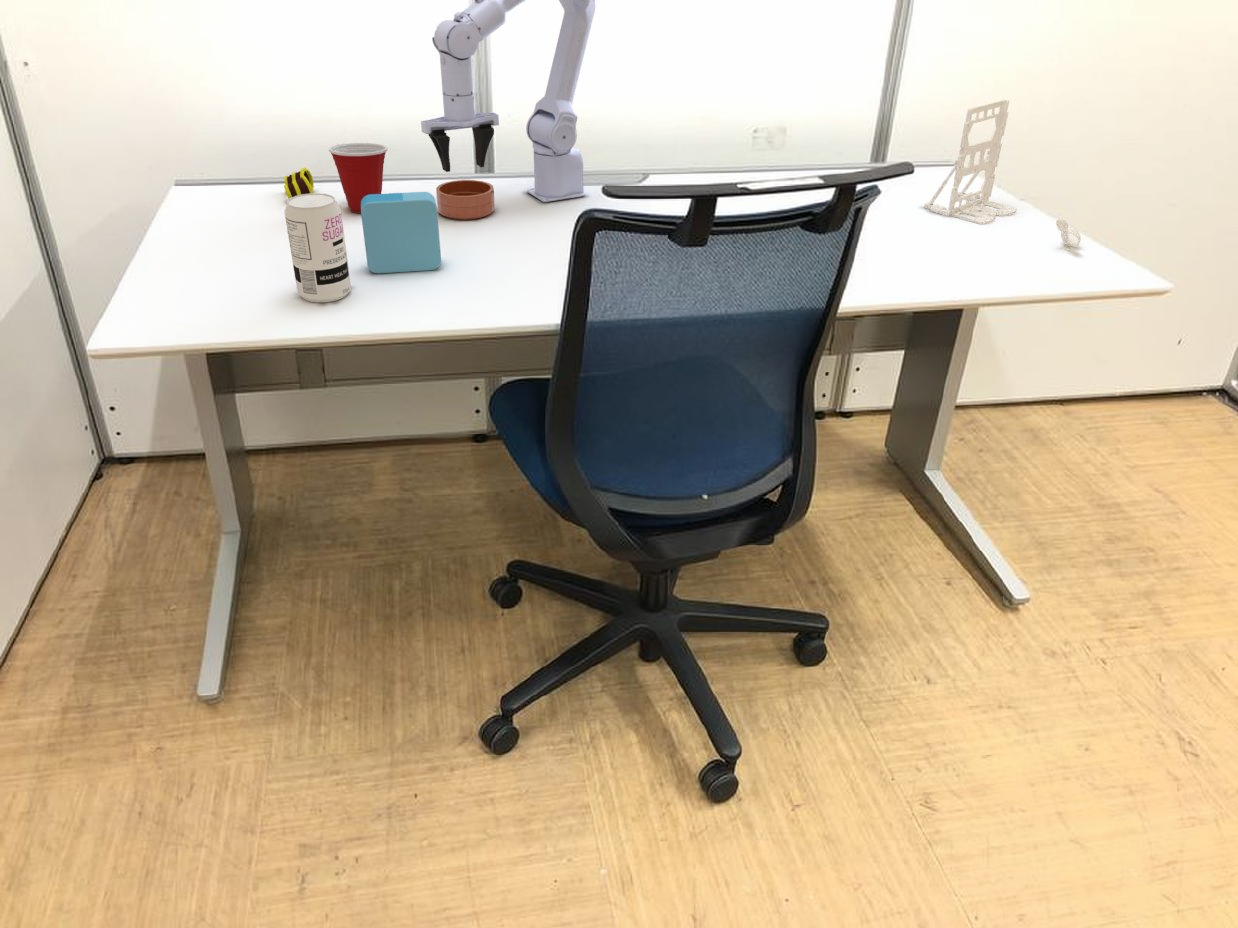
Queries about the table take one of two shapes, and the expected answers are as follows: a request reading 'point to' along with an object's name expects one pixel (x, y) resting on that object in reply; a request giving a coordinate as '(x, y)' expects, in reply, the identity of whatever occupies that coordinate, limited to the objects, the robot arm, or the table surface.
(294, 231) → the supplement can
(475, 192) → the bowl
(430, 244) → the light blue rounded block
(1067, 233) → the rabbit figurine
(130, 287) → the table surface
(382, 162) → the plastic cup
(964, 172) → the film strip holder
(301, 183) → the opera glasses
